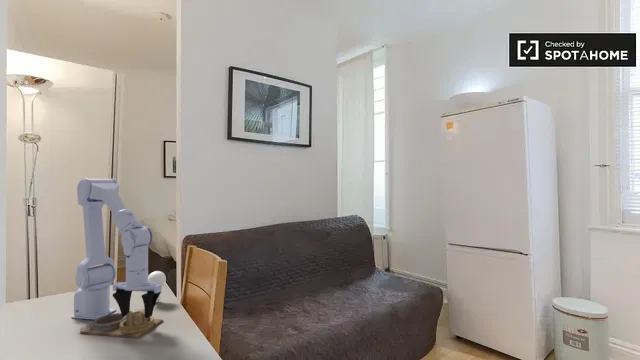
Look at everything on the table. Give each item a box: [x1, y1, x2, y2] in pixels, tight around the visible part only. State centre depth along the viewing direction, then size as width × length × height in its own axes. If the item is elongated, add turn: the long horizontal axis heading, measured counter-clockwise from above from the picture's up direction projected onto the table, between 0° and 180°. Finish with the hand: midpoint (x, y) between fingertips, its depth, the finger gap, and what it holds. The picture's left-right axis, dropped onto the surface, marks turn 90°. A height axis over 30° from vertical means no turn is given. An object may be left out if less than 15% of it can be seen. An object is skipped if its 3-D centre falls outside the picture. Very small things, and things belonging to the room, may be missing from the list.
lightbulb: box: [148, 270, 167, 303], centre depth 116 cm, size 6×6×11 cm
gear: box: [126, 308, 148, 326], centre depth 95 cm, size 5×5×4 cm
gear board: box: [80, 312, 164, 339], centre depth 96 cm, size 18×11×2 cm, turn 80°
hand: (137, 315), depth 95 cm, fingers open, 7 cm apart
